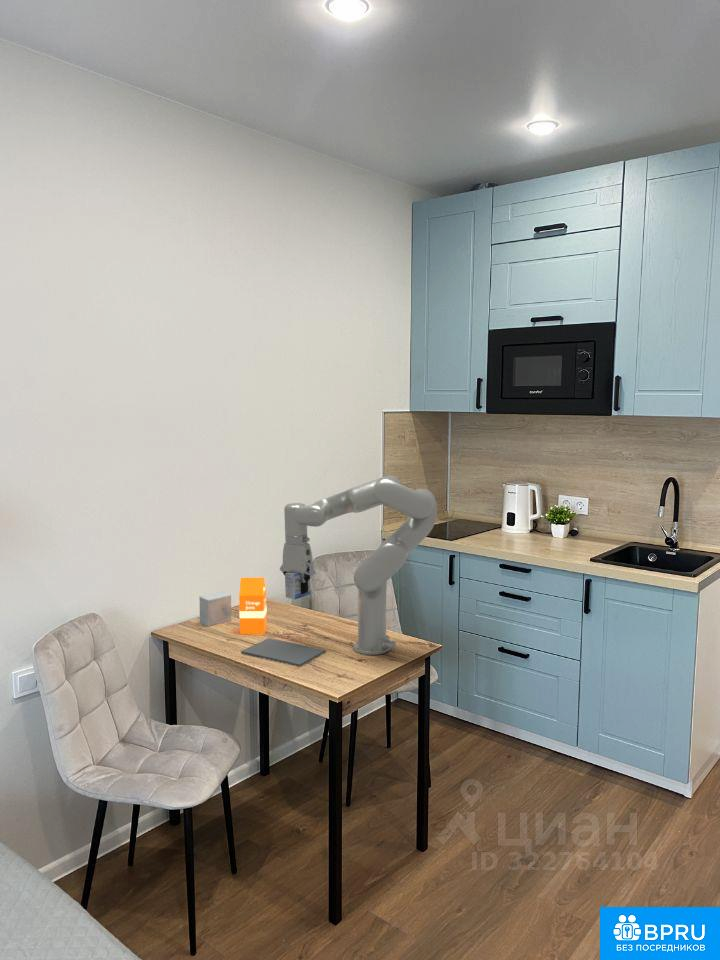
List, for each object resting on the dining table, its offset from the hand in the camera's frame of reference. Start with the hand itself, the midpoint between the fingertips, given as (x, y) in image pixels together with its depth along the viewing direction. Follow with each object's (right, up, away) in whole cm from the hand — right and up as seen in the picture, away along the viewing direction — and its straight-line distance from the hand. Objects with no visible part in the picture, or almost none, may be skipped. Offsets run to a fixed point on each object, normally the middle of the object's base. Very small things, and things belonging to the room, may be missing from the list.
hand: (298, 591), depth 247 cm
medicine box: (0, -2, 0) cm, 2 cm away
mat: (-4, -20, -5) cm, 21 cm away
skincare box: (-34, -16, +28) cm, 47 cm away
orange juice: (-18, -17, +17) cm, 30 cm away
